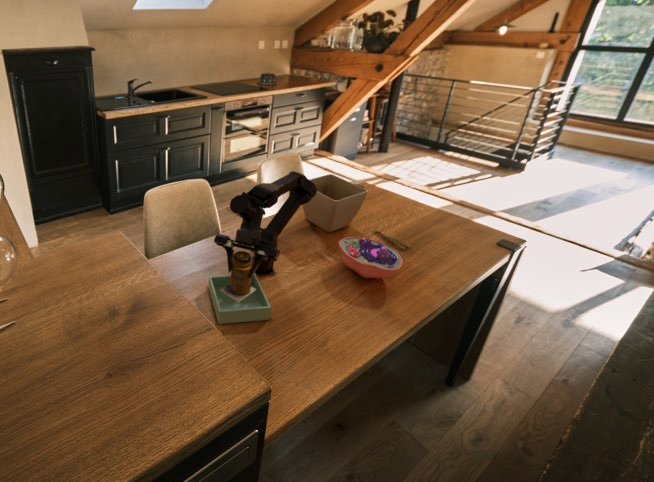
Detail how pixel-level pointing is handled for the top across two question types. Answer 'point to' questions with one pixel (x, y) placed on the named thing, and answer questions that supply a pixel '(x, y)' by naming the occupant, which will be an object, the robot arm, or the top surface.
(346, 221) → the flower pot
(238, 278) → the condiment
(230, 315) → the tray
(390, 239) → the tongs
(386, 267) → the cell model
